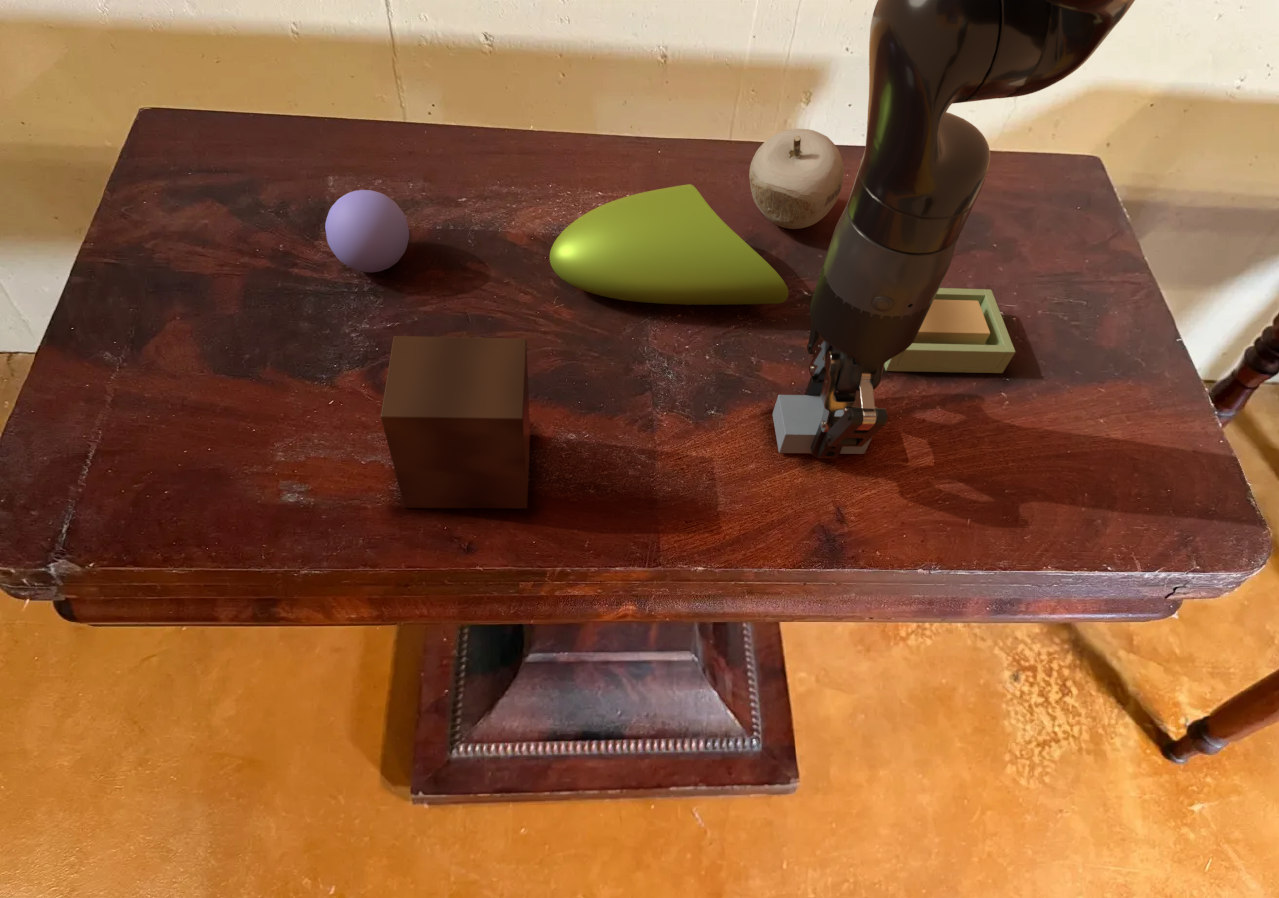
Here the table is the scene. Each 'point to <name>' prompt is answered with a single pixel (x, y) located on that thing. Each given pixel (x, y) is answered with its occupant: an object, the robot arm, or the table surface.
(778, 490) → the table surface
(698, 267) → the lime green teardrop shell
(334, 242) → the sphere
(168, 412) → the table surface
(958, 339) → the birch pad
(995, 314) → the olive green tray
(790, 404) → the rubber pad
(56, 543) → the table surface
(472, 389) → the stand
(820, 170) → the decorative object
